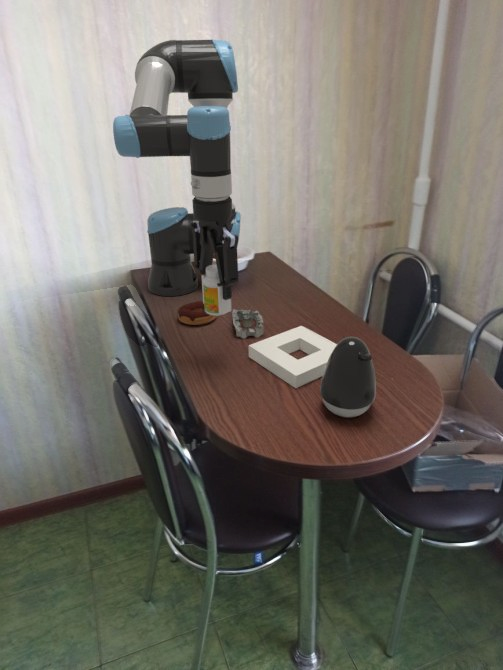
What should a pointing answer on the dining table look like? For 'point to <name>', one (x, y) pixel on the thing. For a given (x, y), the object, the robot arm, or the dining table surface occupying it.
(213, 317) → the donut
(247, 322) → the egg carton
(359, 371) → the pump dispenser
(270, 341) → the socket holder
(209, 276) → the supplement bottle
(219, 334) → the dining table surface
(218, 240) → the robot arm
